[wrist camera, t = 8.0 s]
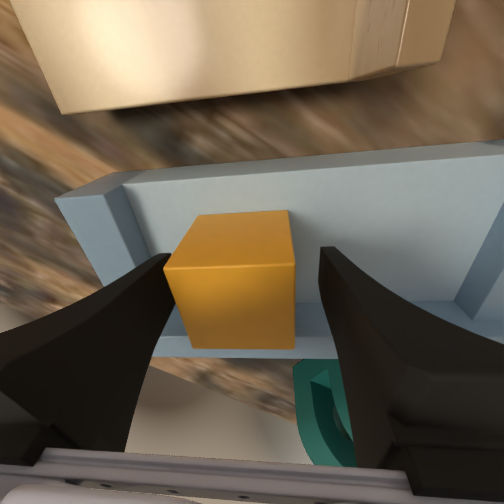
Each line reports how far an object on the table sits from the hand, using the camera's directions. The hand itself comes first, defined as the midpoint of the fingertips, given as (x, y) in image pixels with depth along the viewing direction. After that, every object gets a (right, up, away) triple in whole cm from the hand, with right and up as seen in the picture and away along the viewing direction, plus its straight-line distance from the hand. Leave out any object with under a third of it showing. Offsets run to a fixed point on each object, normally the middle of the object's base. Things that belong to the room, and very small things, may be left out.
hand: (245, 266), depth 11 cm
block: (0, +1, +1) cm, 2 cm away
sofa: (+3, +2, +4) cm, 6 cm away
